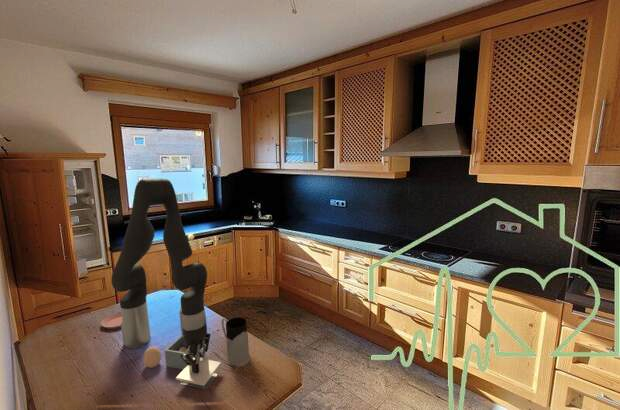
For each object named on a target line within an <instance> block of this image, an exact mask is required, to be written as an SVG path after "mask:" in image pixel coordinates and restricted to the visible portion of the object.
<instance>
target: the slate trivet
mask: <svg viewBox="0 0 620 410" xmlns="http://www.w3.org/2000/svg"><path fill="white" fill-rule="evenodd" d="M218 374H219V373H214V374H213V375H212V376H211V378H210V379H209V380H208V381H207V383H206V384H205V385H204V386H202V385H198V384H193V383H189V382H184V381H180V384H179V385H182V386H187V387H193V388H198V389H204V390H207V389H208V388H209V387H210V385H211V384H212V382H213V381H214V380H215V378H217V376H218Z"/></svg>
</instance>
